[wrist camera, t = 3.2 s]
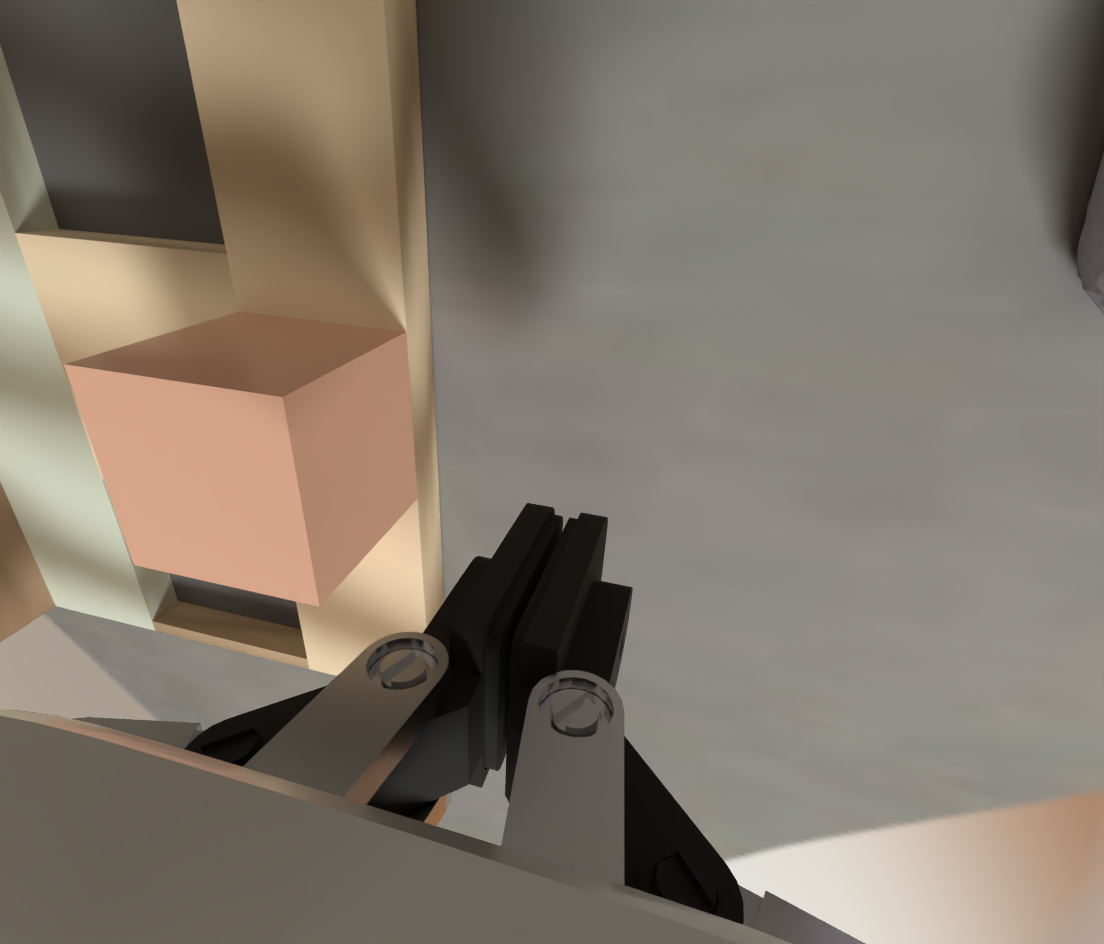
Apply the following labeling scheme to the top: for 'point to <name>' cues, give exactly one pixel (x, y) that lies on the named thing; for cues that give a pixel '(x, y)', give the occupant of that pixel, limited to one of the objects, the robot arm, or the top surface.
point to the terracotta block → (254, 448)
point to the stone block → (1093, 243)
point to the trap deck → (202, 273)
